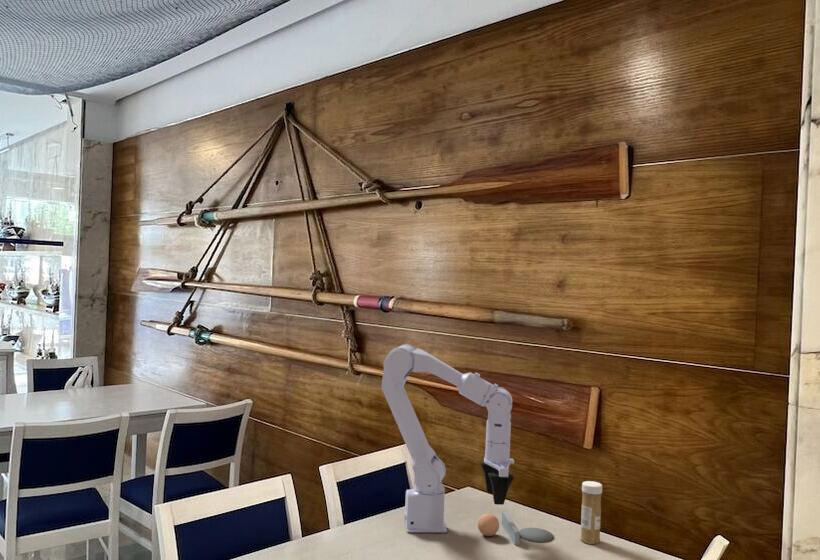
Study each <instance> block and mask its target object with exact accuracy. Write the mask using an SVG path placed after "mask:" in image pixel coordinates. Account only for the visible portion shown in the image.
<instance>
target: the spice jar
mask: <svg viewBox="0 0 820 560" xmlns="http://www.w3.org/2000/svg"><path fill="white" fill-rule="evenodd" d="M581 493H582V497H581V498H582V500H581V513H580V514H581V517H580V519H581V520H580V527H581V528H580V532H581V533H580V540H581V542H583V543H586V544H587V545H588V544H590V545H597V544H599V543H600V542H601V538H600V537H601V516H602V515H601V514H602V507H601V506H602V505H601V503H602V494H603V484H602V483H600V482H597V481H595V480H594V481H592V480H586V481H582V483H581Z"/></svg>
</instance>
